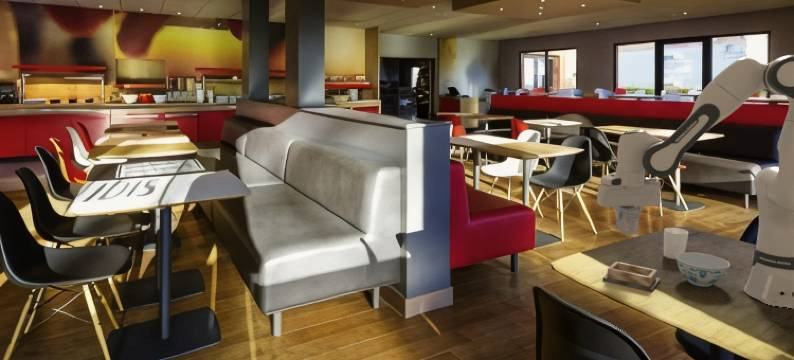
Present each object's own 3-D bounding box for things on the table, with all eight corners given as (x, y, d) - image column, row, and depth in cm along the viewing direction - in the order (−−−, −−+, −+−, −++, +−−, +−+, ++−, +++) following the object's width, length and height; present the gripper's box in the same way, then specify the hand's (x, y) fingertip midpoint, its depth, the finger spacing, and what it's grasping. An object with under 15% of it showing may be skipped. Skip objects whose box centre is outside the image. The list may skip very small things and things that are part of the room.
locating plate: (660, 281, 172) (661, 269, 171) (651, 291, 164) (653, 279, 163) (612, 270, 181) (613, 259, 180) (602, 280, 173) (603, 269, 172)
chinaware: (708, 273, 178) (710, 252, 177) (737, 291, 164) (741, 268, 162) (664, 274, 178) (667, 252, 176) (690, 292, 163) (693, 269, 162)
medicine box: (638, 234, 175) (640, 209, 173) (624, 234, 175) (626, 209, 173) (627, 227, 182) (629, 203, 181) (614, 228, 182) (616, 203, 181)
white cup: (689, 260, 191) (692, 233, 189) (667, 260, 191) (670, 233, 189) (678, 252, 199) (681, 227, 197) (657, 252, 199) (660, 227, 197)
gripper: (656, 176, 178) (653, 215, 181) (596, 177, 178) (594, 216, 181) (665, 179, 172) (662, 220, 175) (603, 180, 172) (601, 221, 175)
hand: (627, 218), depth 178 cm, fingers closed on medicine box, 4 cm apart
